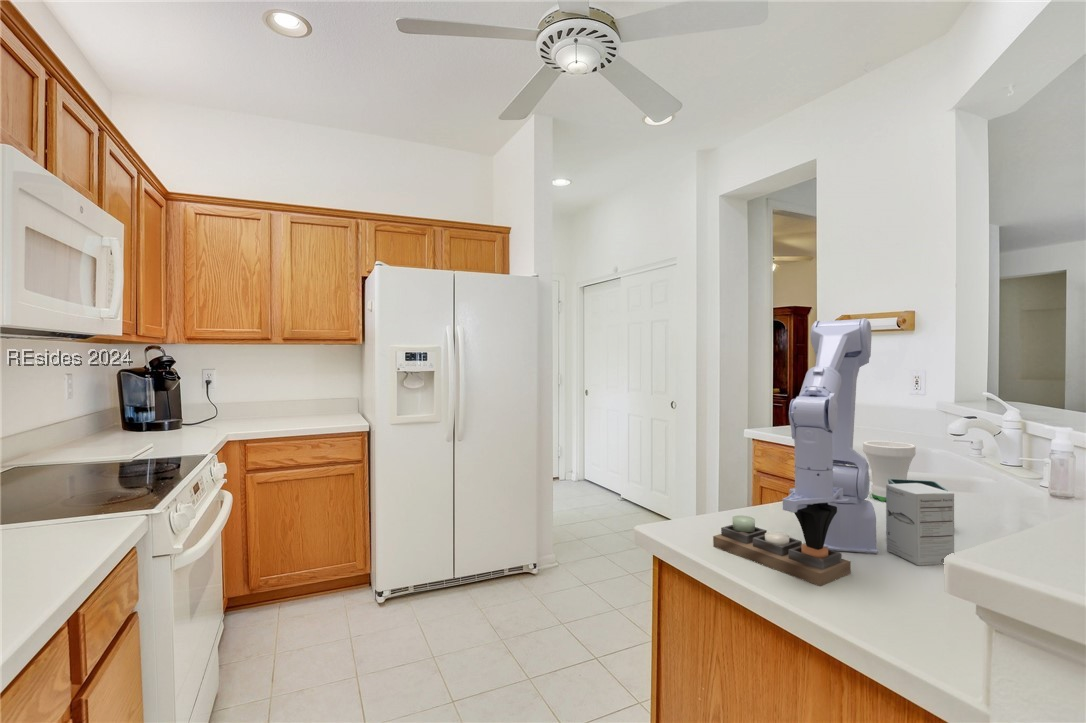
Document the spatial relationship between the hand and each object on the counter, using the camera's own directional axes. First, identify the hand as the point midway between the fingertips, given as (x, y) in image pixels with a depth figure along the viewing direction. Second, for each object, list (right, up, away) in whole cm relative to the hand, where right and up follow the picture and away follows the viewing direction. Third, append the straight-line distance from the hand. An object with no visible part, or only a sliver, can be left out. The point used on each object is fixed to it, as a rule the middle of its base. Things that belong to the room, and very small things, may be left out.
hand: (814, 547), depth 86 cm
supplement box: (+22, -4, +6) cm, 23 cm away
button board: (-4, -4, +6) cm, 8 cm away
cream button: (-4, -2, +6) cm, 7 cm away
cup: (+43, -4, +44) cm, 62 cm away
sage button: (-7, -1, +12) cm, 14 cm away
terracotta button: (0, -2, 0) cm, 2 cm away
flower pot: (+35, -4, +24) cm, 42 cm away
